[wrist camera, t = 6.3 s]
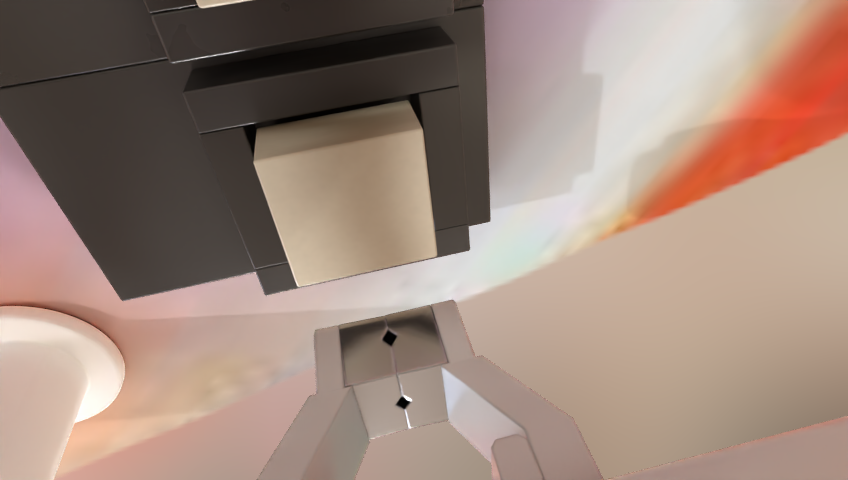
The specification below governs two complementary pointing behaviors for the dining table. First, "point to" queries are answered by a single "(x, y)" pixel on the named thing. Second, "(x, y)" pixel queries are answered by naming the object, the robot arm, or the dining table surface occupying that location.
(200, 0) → the key high
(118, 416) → the dining table surface
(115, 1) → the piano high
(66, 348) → the candle
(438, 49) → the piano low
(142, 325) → the dining table surface
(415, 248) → the key low
